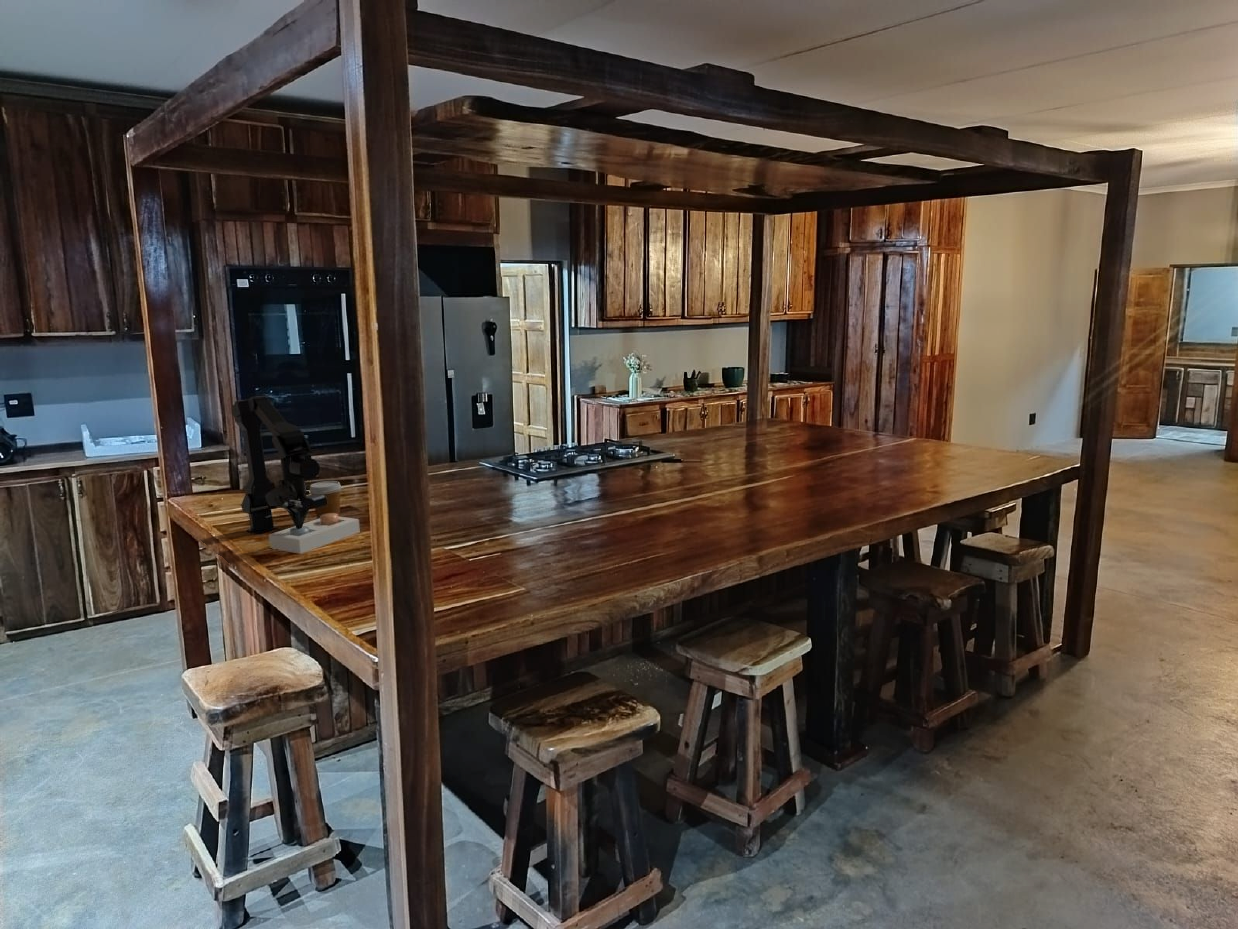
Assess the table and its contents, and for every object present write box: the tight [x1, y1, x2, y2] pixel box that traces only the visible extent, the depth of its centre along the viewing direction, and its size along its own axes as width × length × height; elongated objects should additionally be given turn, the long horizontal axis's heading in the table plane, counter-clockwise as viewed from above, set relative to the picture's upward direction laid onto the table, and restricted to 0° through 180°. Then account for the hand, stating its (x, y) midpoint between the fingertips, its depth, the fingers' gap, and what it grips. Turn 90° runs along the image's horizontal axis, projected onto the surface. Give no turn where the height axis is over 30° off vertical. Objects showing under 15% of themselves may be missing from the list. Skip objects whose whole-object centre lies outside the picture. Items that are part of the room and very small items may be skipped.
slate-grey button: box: [290, 526, 309, 536], centre depth 235 cm, size 5×5×3 cm
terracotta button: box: [320, 513, 339, 526], centre depth 245 cm, size 5×5×3 cm
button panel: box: [268, 516, 361, 555], centre depth 241 cm, size 12×22×4 cm, turn 152°
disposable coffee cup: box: [308, 480, 343, 519], centre depth 259 cm, size 10×10×12 cm
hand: (299, 528), depth 235 cm, fingers closed, pressing on slate-grey button
